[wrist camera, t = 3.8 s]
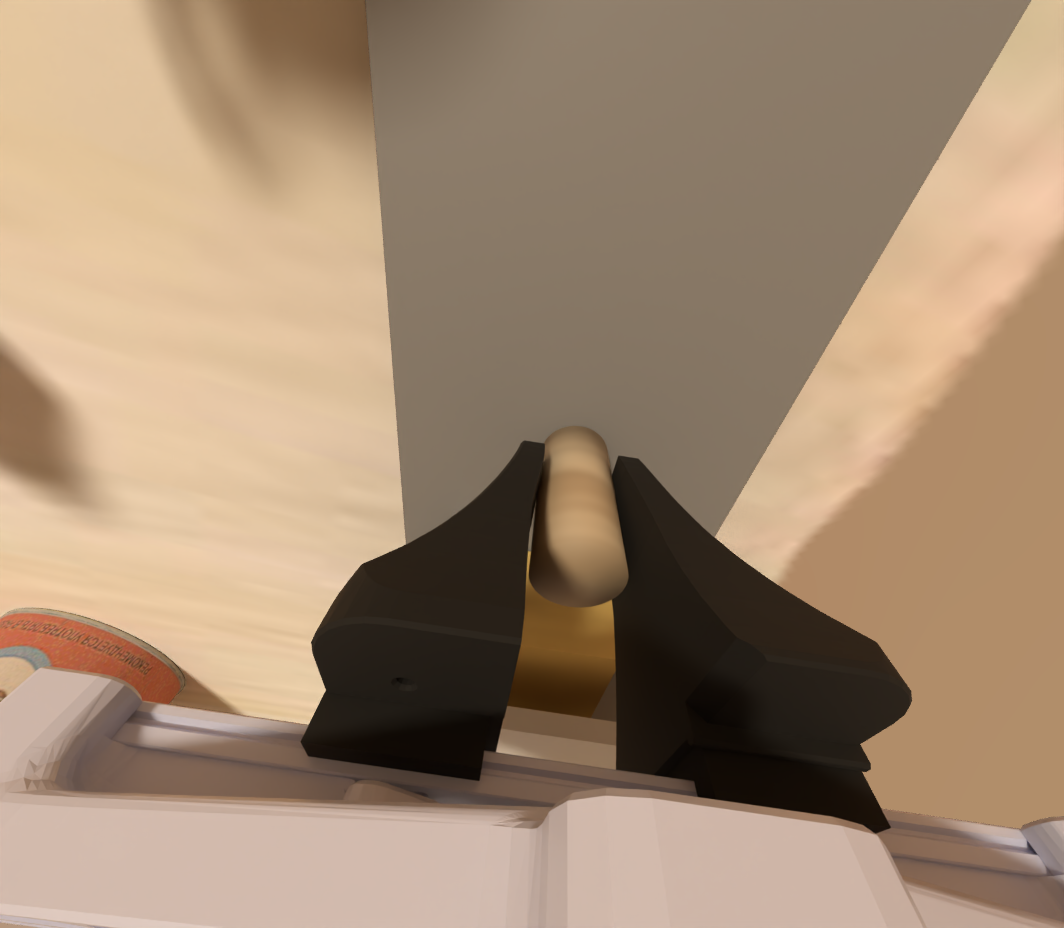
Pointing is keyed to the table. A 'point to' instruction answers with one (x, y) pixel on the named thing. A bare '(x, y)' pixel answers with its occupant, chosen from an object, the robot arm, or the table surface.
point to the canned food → (81, 652)
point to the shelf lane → (640, 229)
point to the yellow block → (571, 580)
